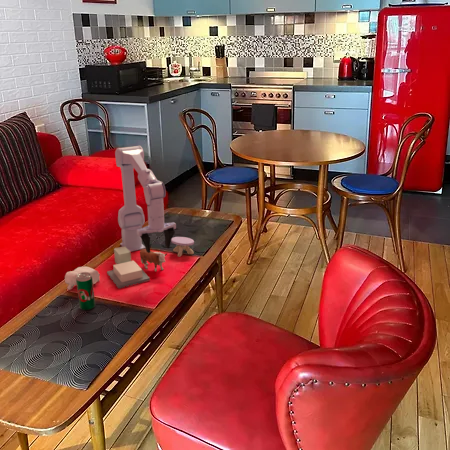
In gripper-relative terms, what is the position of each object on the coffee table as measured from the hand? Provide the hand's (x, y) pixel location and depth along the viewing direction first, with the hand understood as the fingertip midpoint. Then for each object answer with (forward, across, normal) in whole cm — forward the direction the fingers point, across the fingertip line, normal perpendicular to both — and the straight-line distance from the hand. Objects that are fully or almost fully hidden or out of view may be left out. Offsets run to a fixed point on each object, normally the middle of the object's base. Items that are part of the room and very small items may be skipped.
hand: (157, 249), depth 185 cm
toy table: (+10, +16, +13) cm, 23 cm away
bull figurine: (+10, 0, +5) cm, 11 cm away
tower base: (+10, -11, +4) cm, 15 cm away
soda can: (+10, -30, -10) cm, 33 cm away
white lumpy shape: (+10, -28, +4) cm, 30 cm away
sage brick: (+10, -9, +15) cm, 20 cm away
